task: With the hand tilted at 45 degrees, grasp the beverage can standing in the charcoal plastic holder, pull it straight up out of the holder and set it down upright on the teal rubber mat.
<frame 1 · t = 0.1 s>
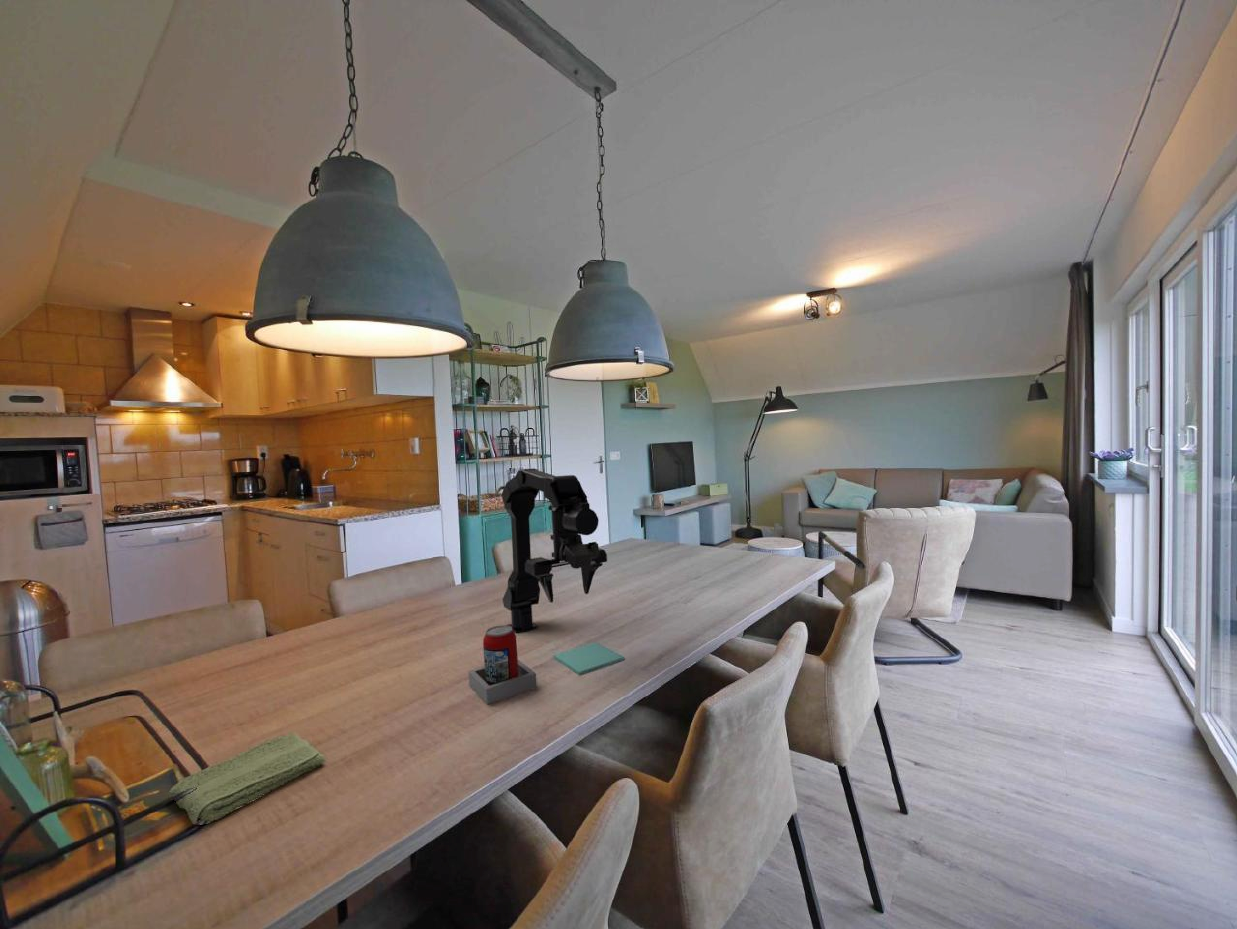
hand: (569, 597, 120), 15 cm above the table, tool pointing down, fingers open, 9 cm apart
washcloth: (251, 784, 81), on the table
can holder: (502, 686, 109), on the table
beverage can: (502, 687, 109), resting in can holder
teal mat: (588, 658, 121), on the table
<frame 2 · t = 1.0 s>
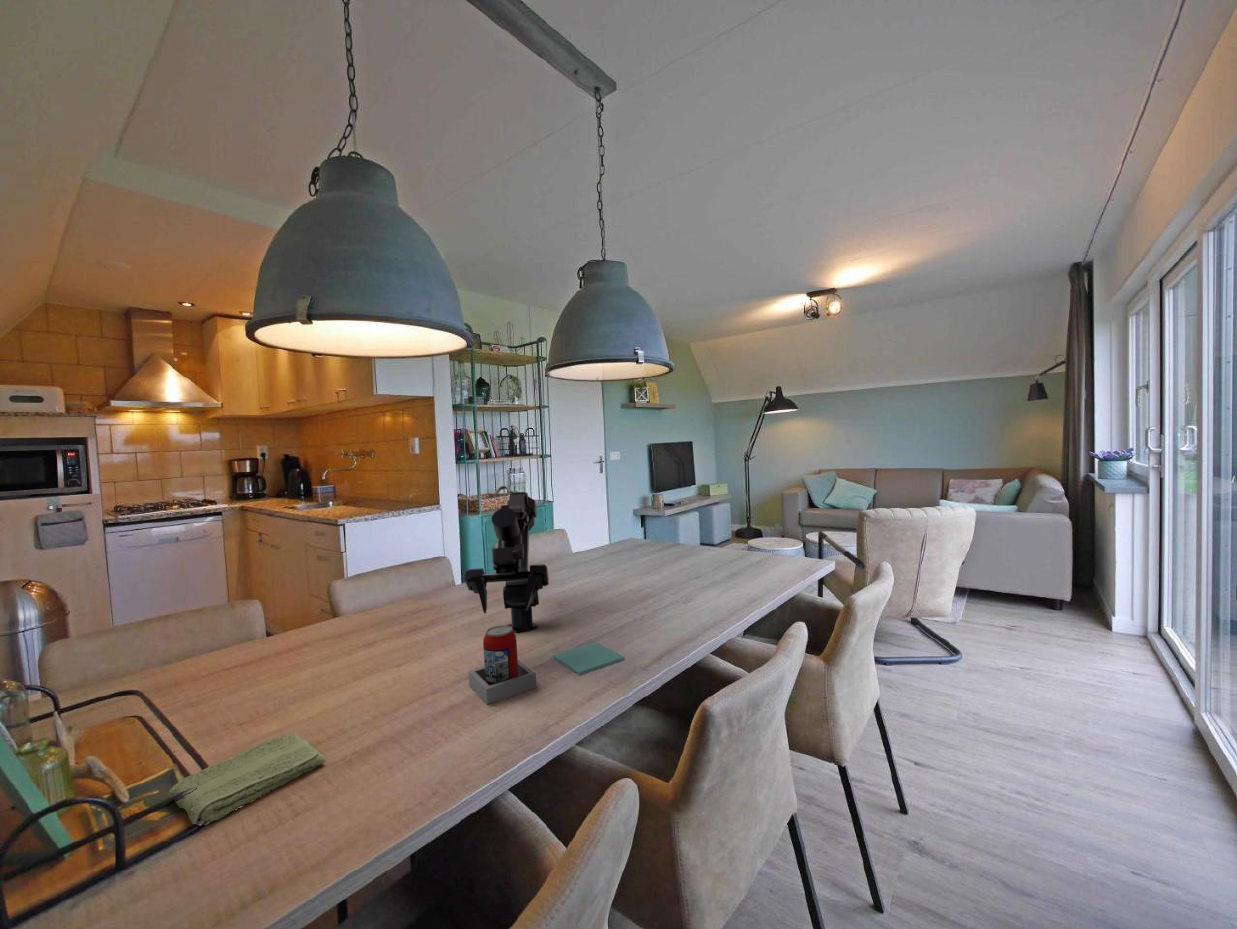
hand: (505, 611, 116), 13 cm above the table, tool tilted 45°, fingers open, 9 cm apart
nothing on the table moved.
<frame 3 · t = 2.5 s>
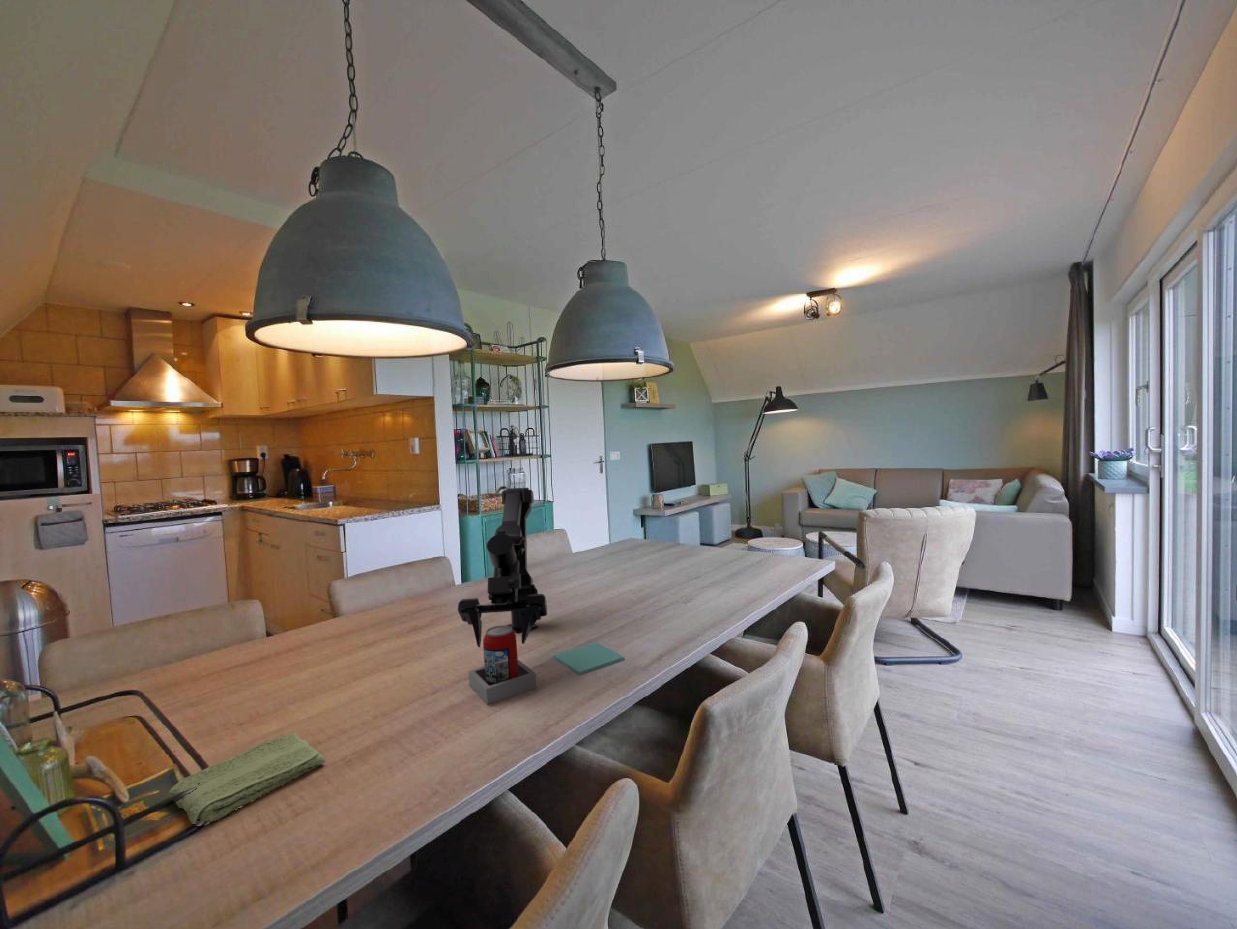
hand: (500, 644, 109), 9 cm above the table, tool tilted 45°, fingers open, 9 cm apart
nothing on the table moved.
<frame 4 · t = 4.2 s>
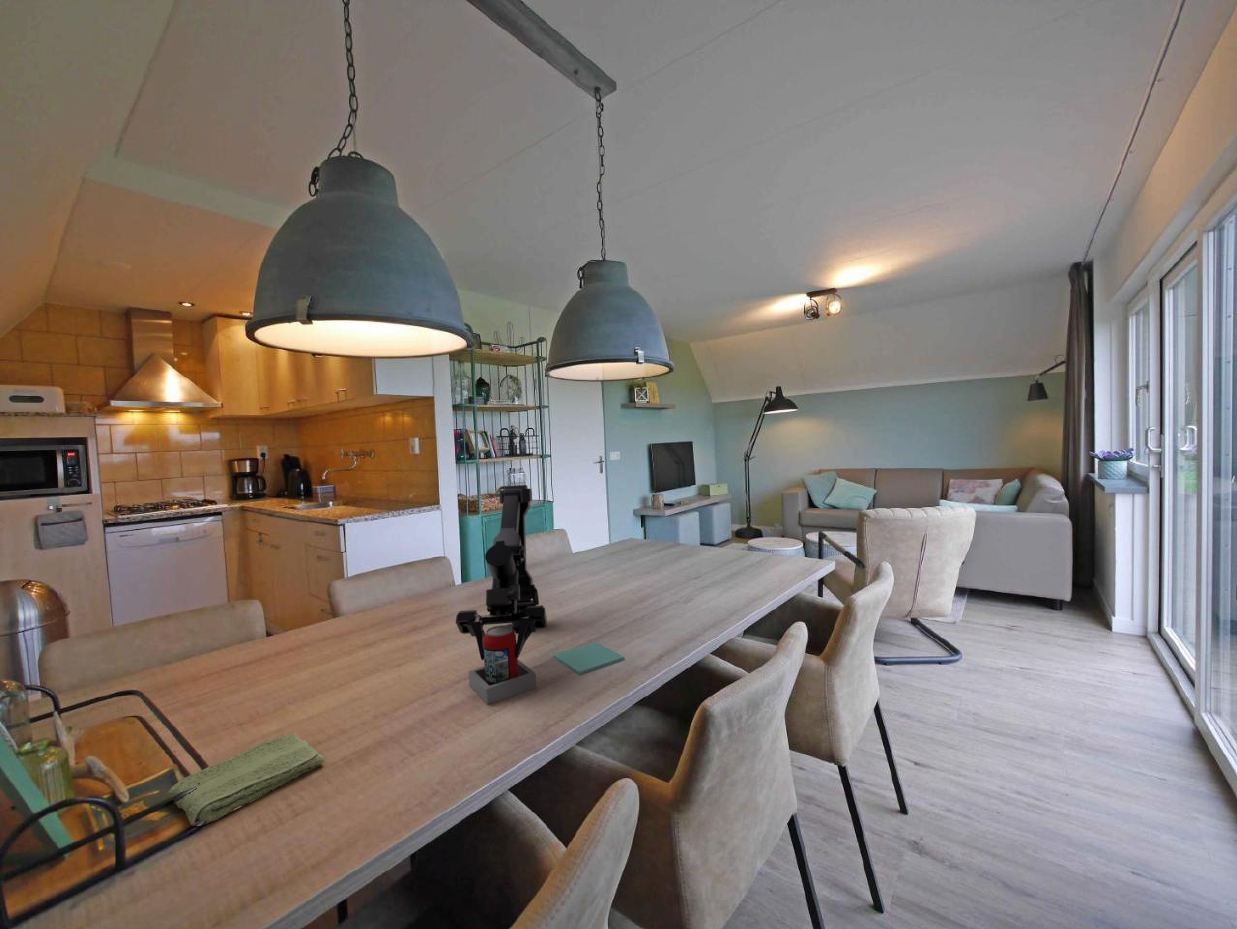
hand: (499, 658, 107), 7 cm above the table, tool tilted 45°, fingers closed on beverage can, 7 cm apart
beverage can: (502, 687, 109), resting in can holder, touching gripper
everything else where it was.
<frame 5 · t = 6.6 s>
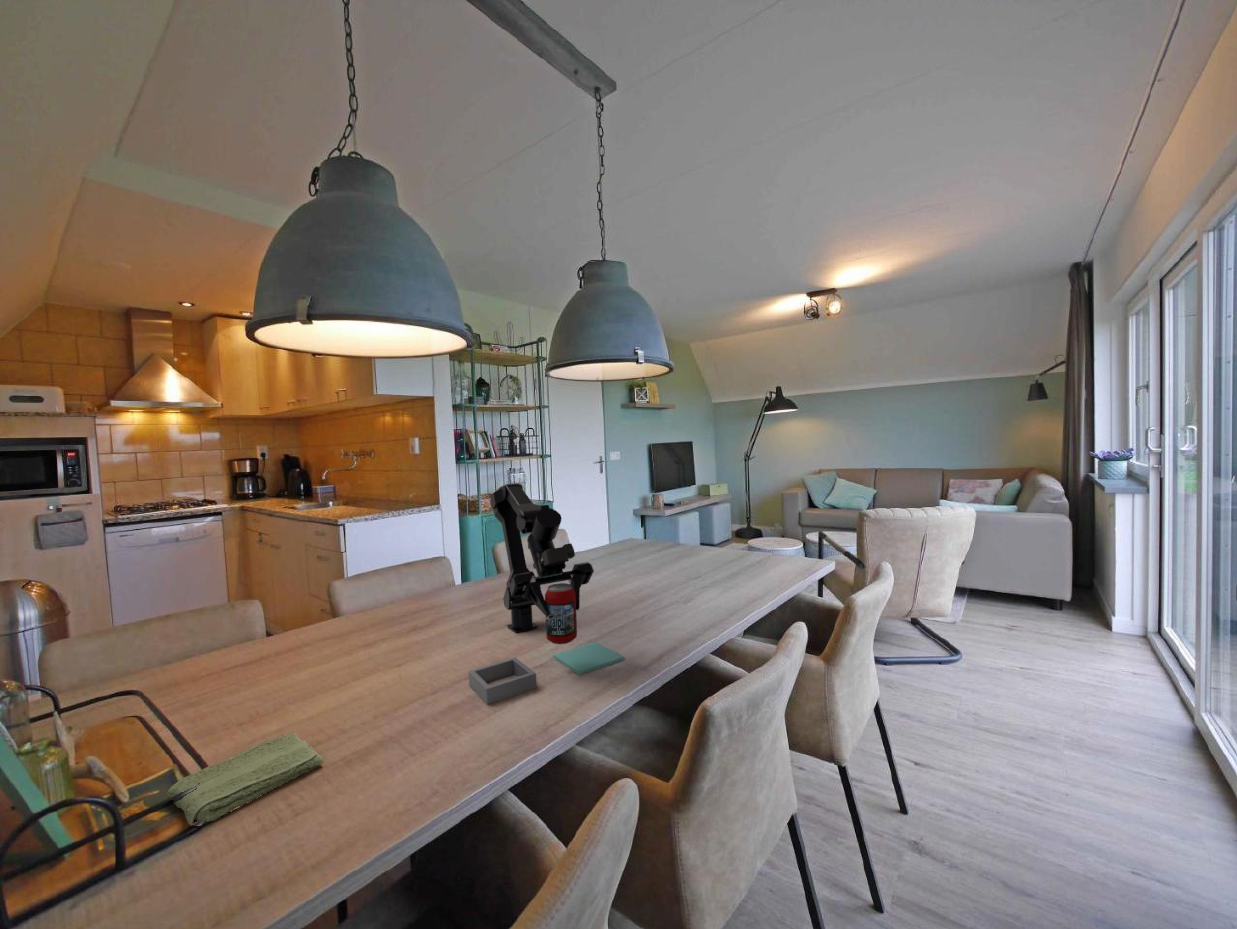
hand: (563, 612, 114), 13 cm above the table, tool tilted 45°, fingers closed on beverage can, 7 cm apart
beverage can: (562, 640, 115), point 6 cm above the table, touching gripper
everything else where it was.
when the fingers open (8 cm above the table, at t = 9.1 s): beverage can stays where it is, resting on teal mat.
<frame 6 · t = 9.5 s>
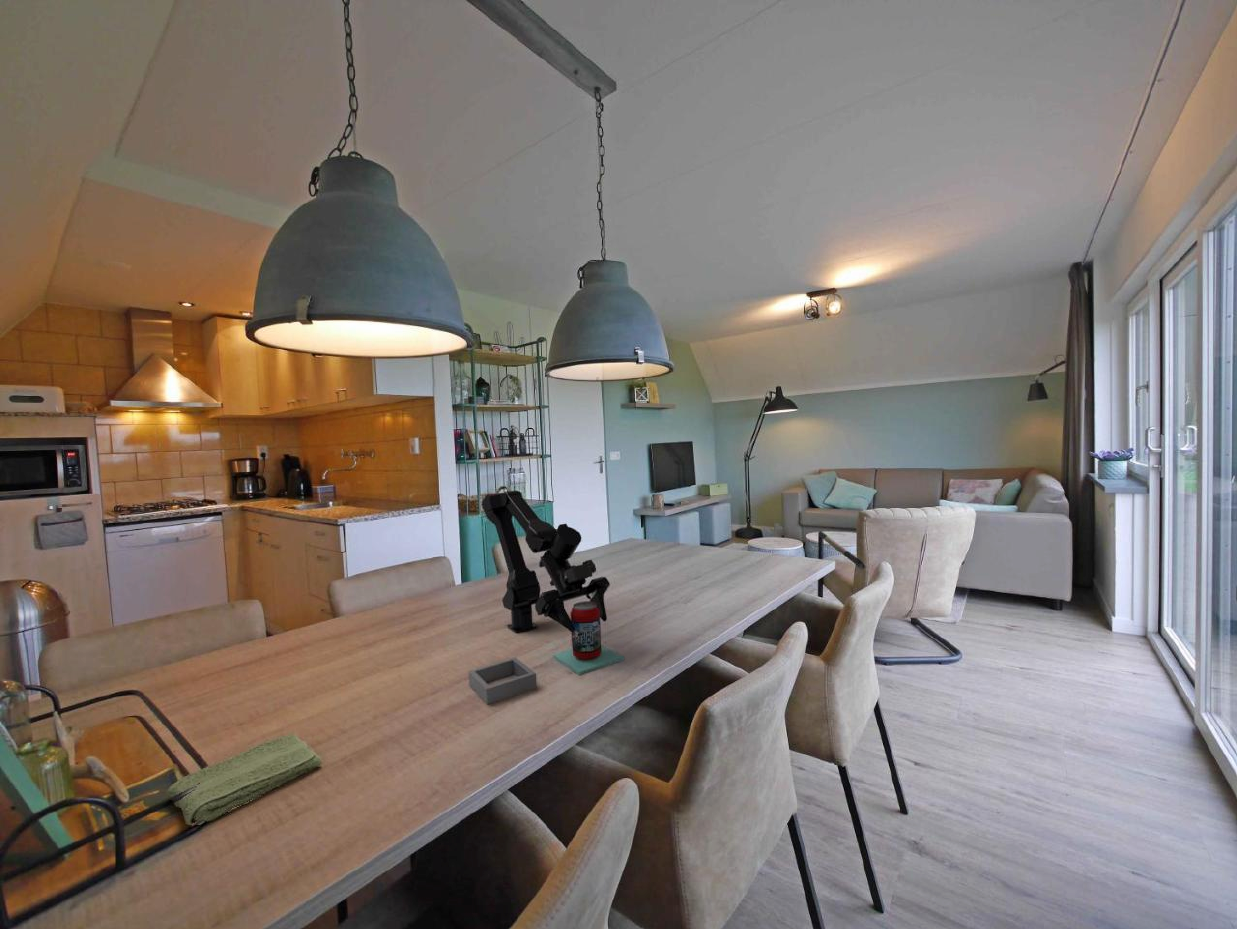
hand: (590, 625, 119), 8 cm above the table, tool tilted 45°, fingers open, 9 cm apart
beverage can: (587, 656, 121), resting on teal mat
everything else where it was.
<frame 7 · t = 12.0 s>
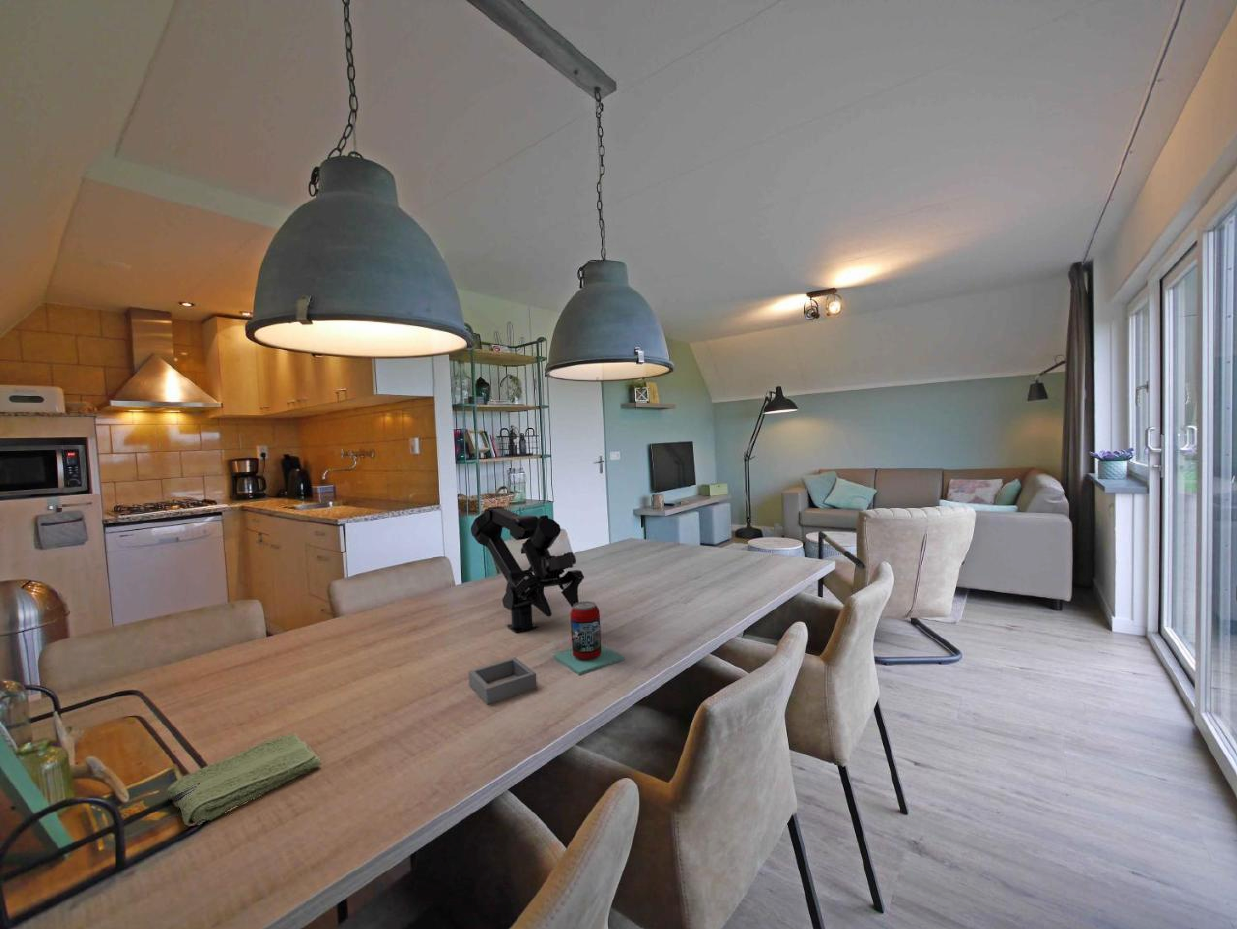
hand: (564, 613, 127), 9 cm above the table, tool tilted 40°, fingers open, 9 cm apart
nothing on the table moved.
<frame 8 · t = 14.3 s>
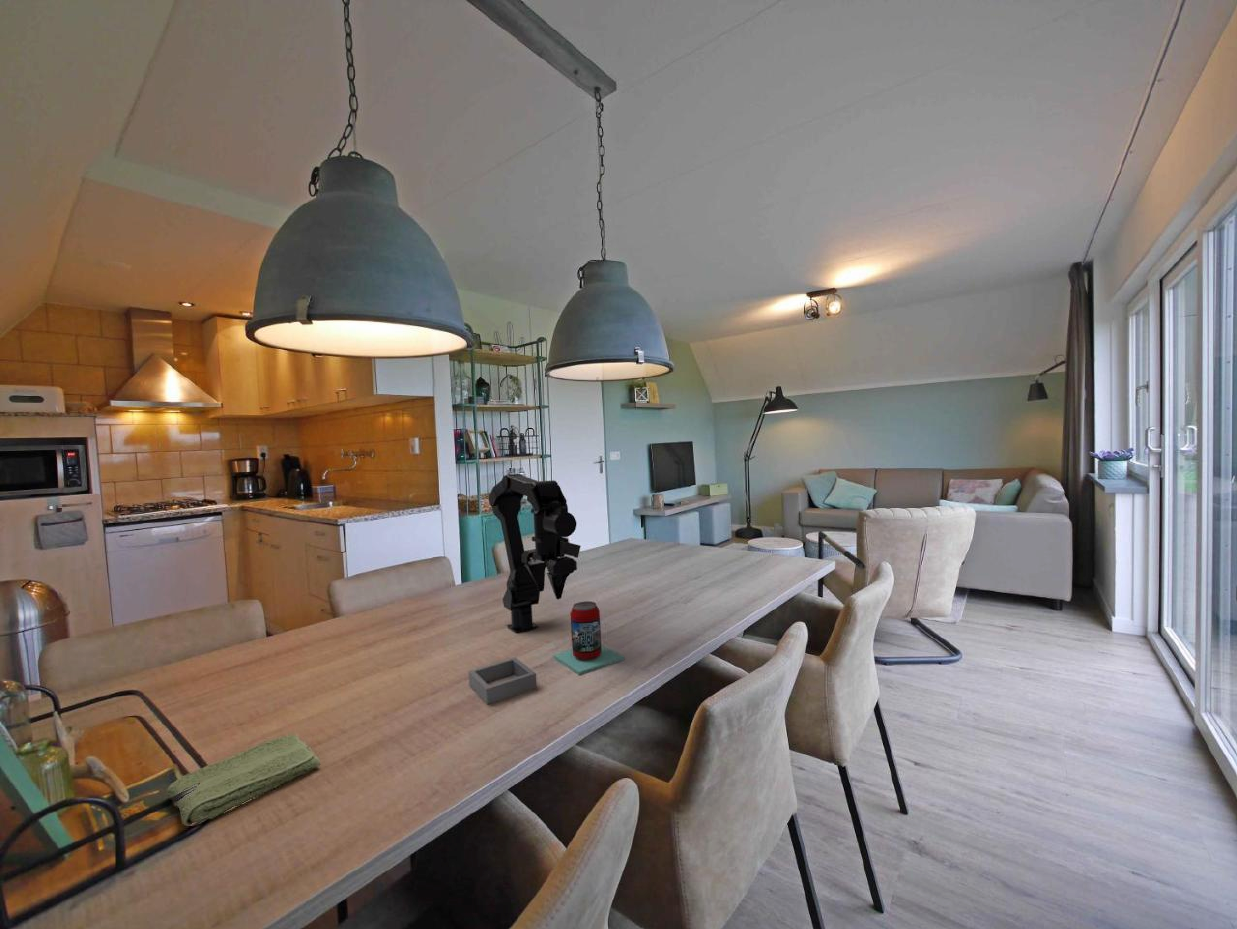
hand: (549, 595, 128), 13 cm above the table, tool pointing down, fingers open, 9 cm apart
nothing on the table moved.
at the end: beverage can inside the target area on the teal mat (0.1 cm from its centre), point 0.4 cm above the teal mat's base; beverage can tilted 0°; the gripper is holding nothing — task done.
